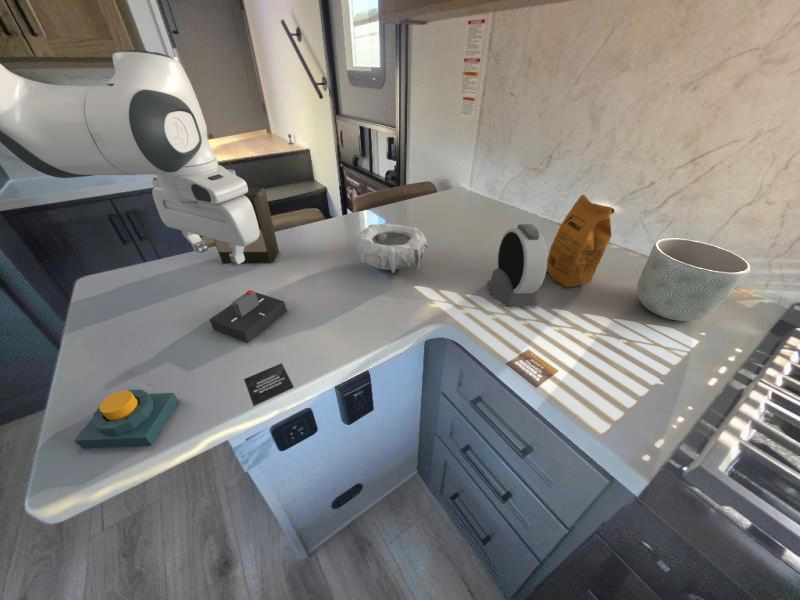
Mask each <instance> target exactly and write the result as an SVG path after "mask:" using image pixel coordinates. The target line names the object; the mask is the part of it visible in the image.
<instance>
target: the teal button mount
mask: <svg viewBox="0 0 800 600" xmlns="http://www.w3.org/2000/svg"><path fill="white" fill-rule="evenodd" d="M127 391H130V392H131V393H132V394H133V395H134V397H135V398H136V399H137V401H138V406H137V408H136V410H135V411H134V412H132V413H131V414H130V415H128V416H127V417H125V418H122V419H120V420H117V421H110V420H108V419H107V418H106V417H105V416H104V415H103V414H102V412H101V411H100V410H99V407H98V408H97V409H96V411H95V412H93V414H92V418H90V420H89V421H88V423H87V424H86V425H85V426H84V427H83V429H81V430H80V432H79V434H78V435H77V436H76V437H75V438H74V440H73V441H74V443H75V444H77V445H78V446H79V448H81V449H101V448H122V447H123V448H124V447H143V446H145V447H146V446H153V444H154V443H155V441H156V439H157V438H158V436H159V435H160V433H161V431H162V429H163V428H164V426H165V424H166V422H167V421H168V419H169V418H170V416H171V414H172V413H173V411H174V410H175V408H176V406H177V404H178V403H179V399H178V397H177V396H176V394H175V393H174V392H162V393H159V392H158V393H148V392H146V391H145V390H144V389H128V390H127Z"/></svg>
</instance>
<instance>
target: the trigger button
mask: <svg viewBox="0 0 800 600" xmlns="http://www.w3.org/2000/svg"><path fill="white" fill-rule="evenodd" d="M137 406H138V401H137V399H136V398H135V397H134V395H133V394H132V393H131V392H130V391H128V390H119V391H116V392H114V393H111V394H109V395H108V396H106V397H105V398H104V399H103V400H102V401H101V402H100V404H99V407H98V408H99V410H100V411H101V412H102V414H103V415H104V416H105V417H106V418H107V419H108V420H110V421H117V420H120V419H122V418H125V417H127V416H128V415H130V414H131V413H132V412H134V411H135V410H136V408H137Z"/></svg>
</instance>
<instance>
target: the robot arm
mask: <svg viewBox="0 0 800 600" xmlns="http://www.w3.org/2000/svg"><path fill="white" fill-rule="evenodd" d="M111 57H112V65H113V68H114V71H115V73H114V75H113V76H112V77H111V78H110V79H109V80H107V81H106V82H105V83H104V84H105V85H103V84H101V85H69V84H68V85H65V84H61V85H60V84H51V83H45V82H41V81H36V80H32V79H29V78H25V77H22V76H20V75H18V74H16V73H14V72H11V71H10V70H8V69H7V68H6V67H5V66H4V65H3V64H1V63H0V144H1V145H3V146H4V147H5V148H6V149H7V150H9V151H10V152H11V153H12V154H13V155H14V156H15V157H17V158H18V159H19V160H21V161H22V162H23V163H25V164H26V165H28V166H29V167H31V168H32V169H34V170H36V171H38V172H40V173H42V174H44V175H47V176H50V177H54V178H59V179H72V178H83V177H93V176H137V175H141V176H142V175H145V176H146V175H153V177H152V180H151V184H152V186H153V188H152V190H151V193H152V197H153V200H154V201H153V202H154V204H155V207H156V210H157V213H158V215H159V217H160V219H161V221H162V222H163V224H164V225H165V226H166V227H167V228H170V229H174V230H178V231H181V233H182V236H184V238H185V239H186V240H187V241H188V243H189V244H191V246H192V249H193V251H194V252H195V253H199V254H203V253H204V252H207V251H208V249H209V248H208V246H207V242H206V241H205V240H203V239H202V238H201V237H205V238H209V239H212V240H214V239H216V240H219V241H223V242H227V243H229V246H230V247H231V248H233V251H232V253H231V254H229V256H230V258H231V261H232V262H234V263H233V264H237V265H240V264H243V263H242V262H244V261H245V257H244V254H243V251H244V247H245V246H247V245H249V244H251V243H253V242H255V241H256V240H258V238H259V235H260V231H259V226H258V222H257V219H256V215H255V212H254V209H253V206H252V204H251V202H250V200H249V199H248V198H247V197H246V196H245V195H243V194H245V193H247V192H248V188H249V187H248V184H247V182H246V181H245V179H243V178H242V177H240V176H238V175H237V174H236V175H234V174H233V173H231V172H229V171H228V170H229V169H226V168H225V167H224V166H223V165H221V164H219V163H218V159H217V156H216V154H215V152H214V151H213V149H212V147H211V144H210V142H209V139H208V127H207V124H206V120H205V117H204V114H203V111H202V108H201V106H200V102H199V100H198V98H197V95H196V92H195V90H194V88H193V85H192V83H191V80H190V79H189V77H188V75H187V73H186V71H185V69H184V67H183V65H182V64H181V62H180V61H178V60H177V59H175V58H173V57H172V56H169V55H168V54H164V53H161V52H157V51H149V50H143V49H122V50H119V51H116V52H114V53H112V56H111Z"/></svg>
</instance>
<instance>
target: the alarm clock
mask: <svg viewBox="0 0 800 600" xmlns="http://www.w3.org/2000/svg"><path fill="white" fill-rule="evenodd" d="M547 259H548V249H547V246H546V241H545V239H544V237H543V235H542V234H541V233H540V232H539V229H538V228H537V227H536V226H535V225H533V224H531V223H530V224H529V223H521V224H520V223H518V224H517V227H510V228H509V229H507V230H506V231H505V232H504V234H503V235H502V237H501V239H500V242H499V245H498V250H497V257H496V265H497V266H496V268H495V269H494V270H493V271H492V274H491V277H490V281H489V288H490V290H491V293H492V295H493V296H494V298H496V299H497V301H498V302H500V304H502V305H503V306H505V307H507V308H521V307H522V308H523V307H534V306H536V301H537V297H538V292H539V291H538V290H539V288H540V287H541V286H542V284H543V282H544V280H545V277H546V273H547V271H546V269H547Z"/></svg>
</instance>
